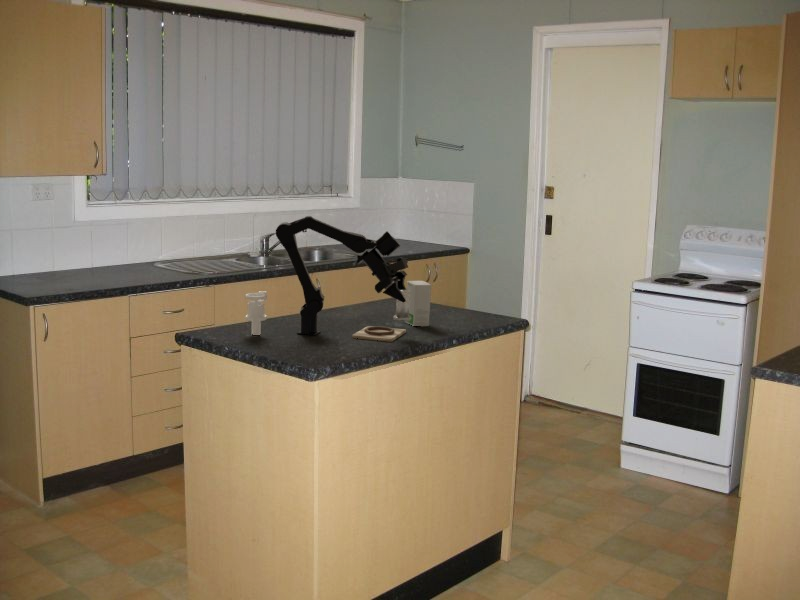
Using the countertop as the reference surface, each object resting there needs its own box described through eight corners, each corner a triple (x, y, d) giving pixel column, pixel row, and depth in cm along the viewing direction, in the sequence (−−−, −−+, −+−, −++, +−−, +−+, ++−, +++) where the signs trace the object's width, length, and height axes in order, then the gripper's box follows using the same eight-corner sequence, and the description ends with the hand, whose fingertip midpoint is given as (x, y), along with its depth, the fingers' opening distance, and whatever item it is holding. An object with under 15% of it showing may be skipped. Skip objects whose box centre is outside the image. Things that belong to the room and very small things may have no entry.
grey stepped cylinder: (266, 337, 300) (266, 293, 297) (245, 337, 299) (245, 293, 296) (266, 332, 307) (266, 289, 304) (245, 332, 306) (245, 289, 303)
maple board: (391, 341, 299) (391, 336, 298) (352, 337, 303) (352, 332, 303) (405, 332, 314) (405, 326, 313) (367, 328, 318) (368, 323, 318)
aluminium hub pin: (407, 321, 301) (409, 292, 299) (391, 319, 303) (392, 290, 301) (413, 318, 307) (414, 289, 305) (396, 316, 308) (397, 288, 306)
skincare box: (404, 322, 330) (405, 280, 327) (420, 321, 332) (422, 280, 330) (413, 327, 322) (415, 284, 319) (430, 326, 325) (432, 283, 322)
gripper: (385, 253, 293) (415, 289, 292) (402, 247, 310) (431, 281, 309) (361, 274, 296) (391, 310, 295) (380, 267, 314) (408, 301, 313)
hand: (406, 300), depth 303 cm, fingers closed on aluminium hub pin, 4 cm apart
